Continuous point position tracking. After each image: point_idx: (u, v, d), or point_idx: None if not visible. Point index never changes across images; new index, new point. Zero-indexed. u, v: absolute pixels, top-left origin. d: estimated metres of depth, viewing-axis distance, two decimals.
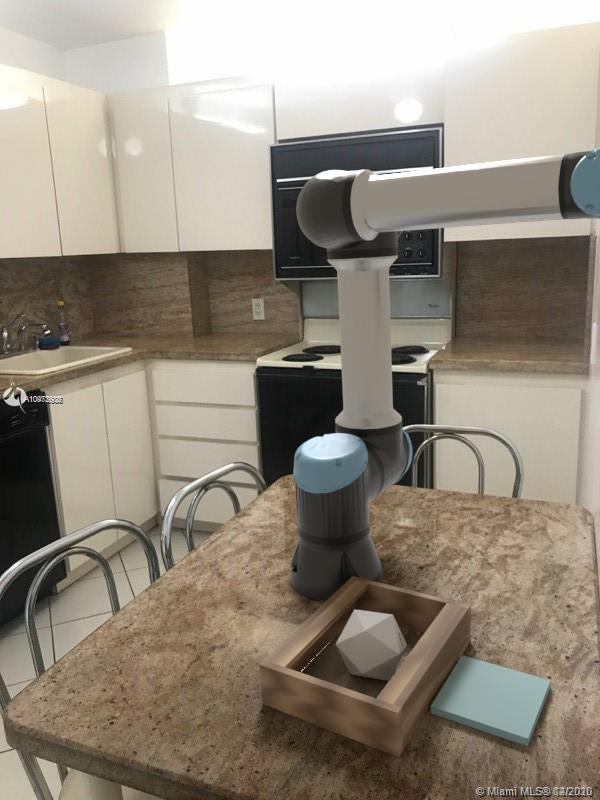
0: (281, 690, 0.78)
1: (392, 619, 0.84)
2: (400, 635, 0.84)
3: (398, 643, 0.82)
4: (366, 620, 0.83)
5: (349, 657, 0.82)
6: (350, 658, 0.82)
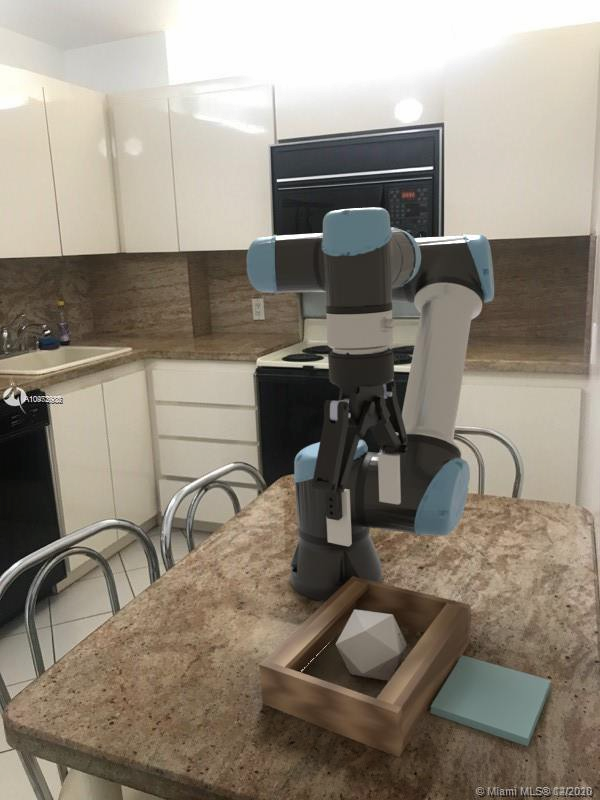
0: (281, 690, 0.78)
1: (392, 619, 0.84)
2: (400, 635, 0.84)
3: (398, 643, 0.82)
4: (366, 620, 0.83)
5: (349, 657, 0.82)
6: (350, 658, 0.82)
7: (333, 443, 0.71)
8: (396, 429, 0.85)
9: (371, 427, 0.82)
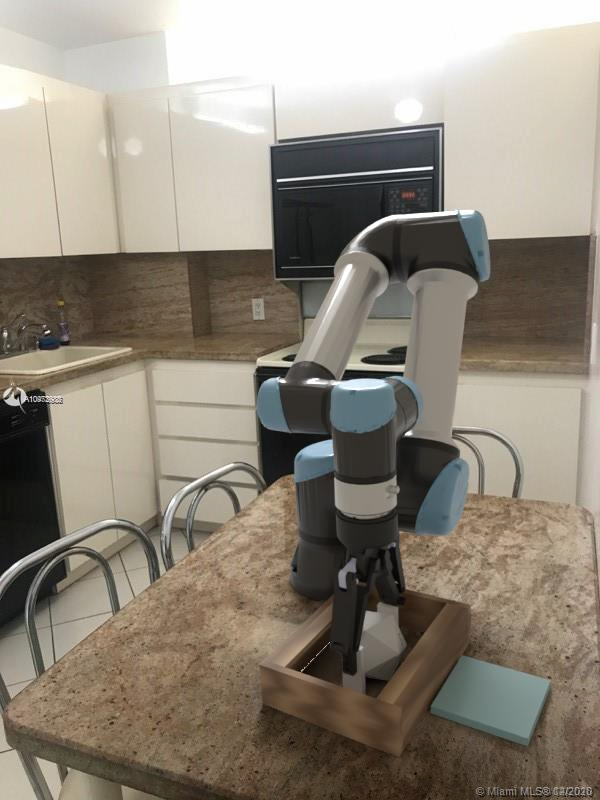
0: (281, 690, 0.78)
1: (392, 619, 0.84)
2: (400, 635, 0.84)
3: (397, 643, 0.82)
4: (366, 620, 0.83)
5: None
6: None
7: (345, 611, 0.76)
8: (396, 578, 0.88)
9: None
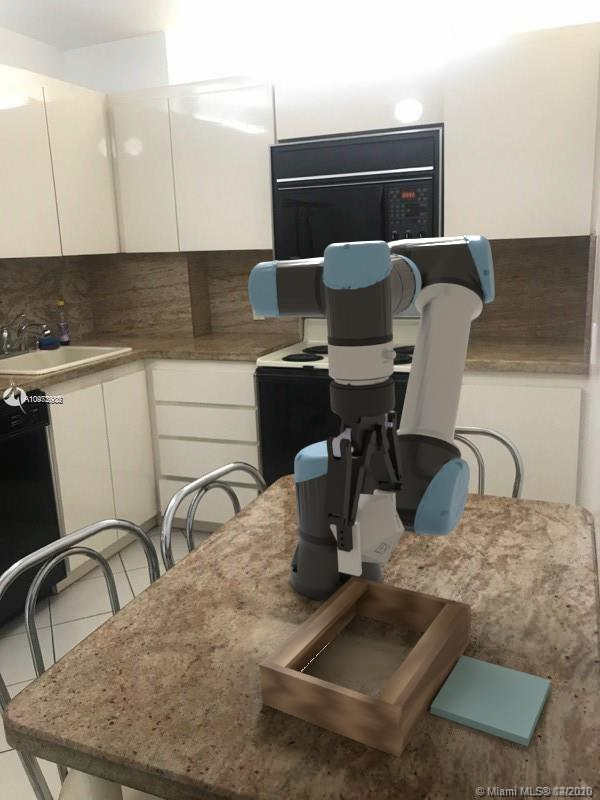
0: (281, 690, 0.78)
1: (389, 500, 0.80)
2: (397, 517, 0.81)
3: (394, 522, 0.79)
4: (361, 500, 0.80)
5: None
6: None
7: (339, 480, 0.73)
8: (393, 463, 0.85)
9: (369, 458, 0.82)
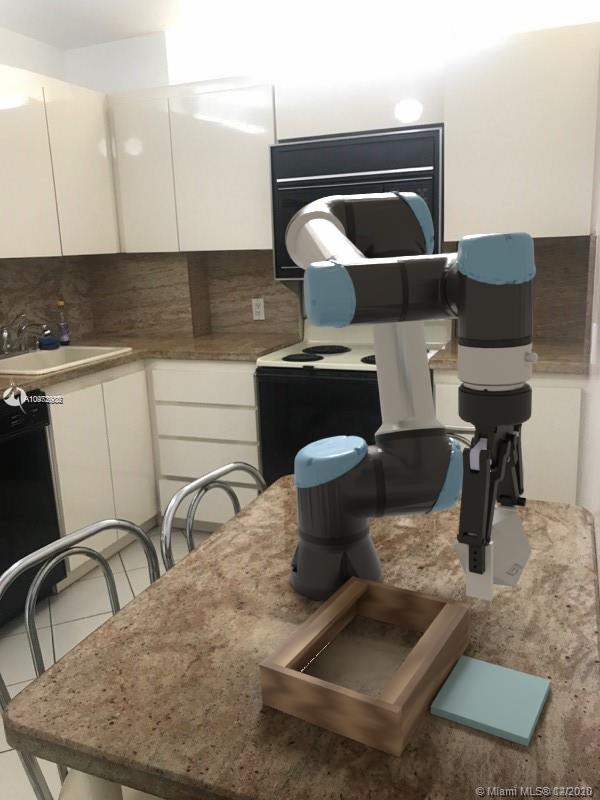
0: (281, 690, 0.78)
1: (517, 516, 0.73)
2: (526, 535, 0.74)
3: (527, 540, 0.72)
4: None
5: None
6: None
7: (477, 495, 0.66)
8: None
9: (493, 471, 0.75)
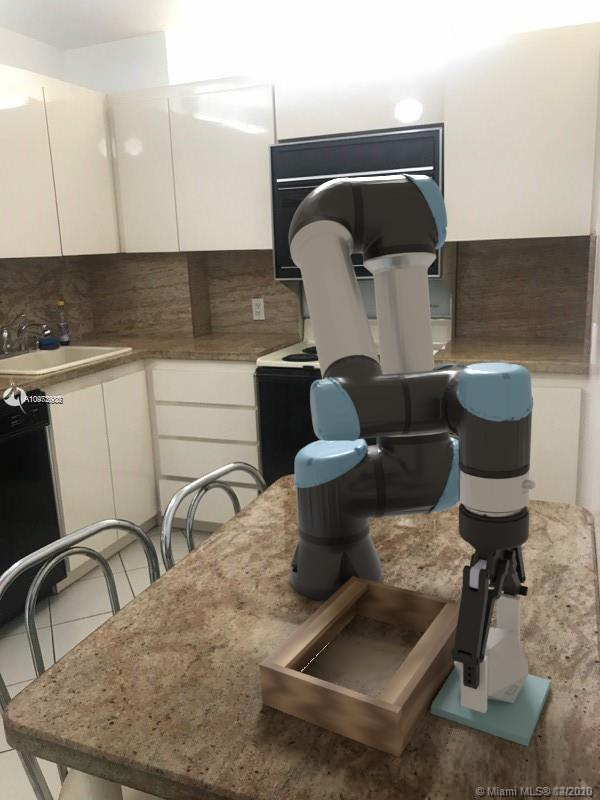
0: (281, 690, 0.78)
1: (515, 635, 0.77)
2: (523, 653, 0.78)
3: (524, 661, 0.75)
4: None
5: None
6: None
7: (475, 614, 0.68)
8: (516, 570, 0.82)
9: None
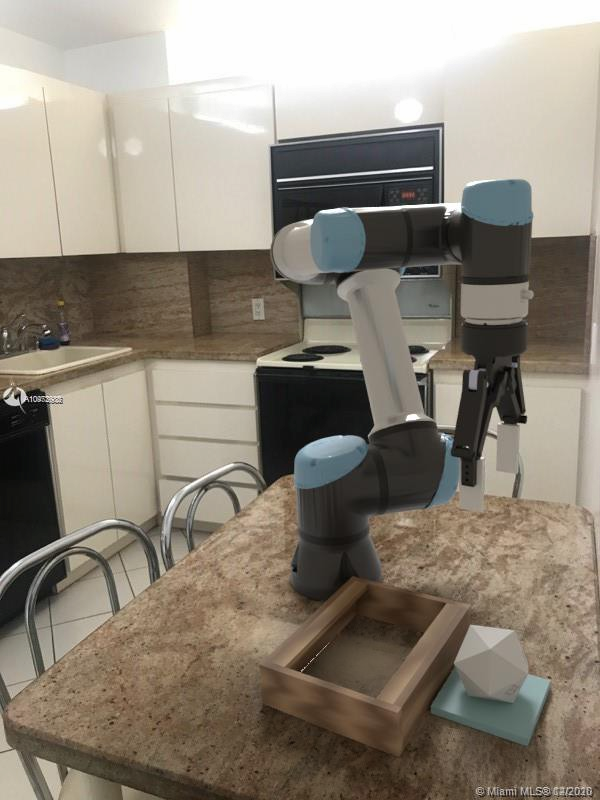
0: (281, 690, 0.78)
1: (515, 635, 0.77)
2: (523, 653, 0.78)
3: (524, 661, 0.75)
4: (487, 636, 0.77)
5: (471, 677, 0.75)
6: (472, 678, 0.75)
7: (473, 411, 0.73)
8: (516, 400, 0.86)
9: None
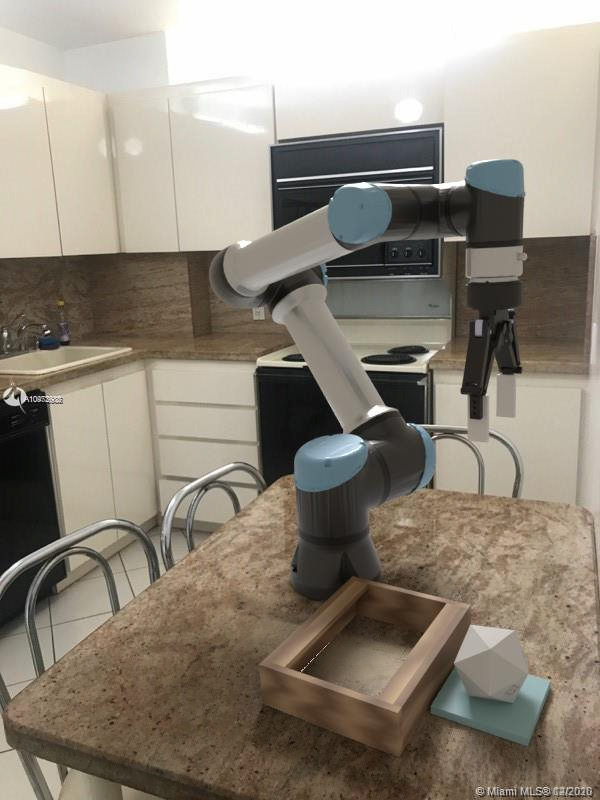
0: (281, 690, 0.78)
1: (515, 635, 0.77)
2: (523, 653, 0.78)
3: (524, 661, 0.75)
4: (487, 636, 0.77)
5: (471, 677, 0.75)
6: (472, 678, 0.75)
7: (479, 354, 0.86)
8: None
9: None
